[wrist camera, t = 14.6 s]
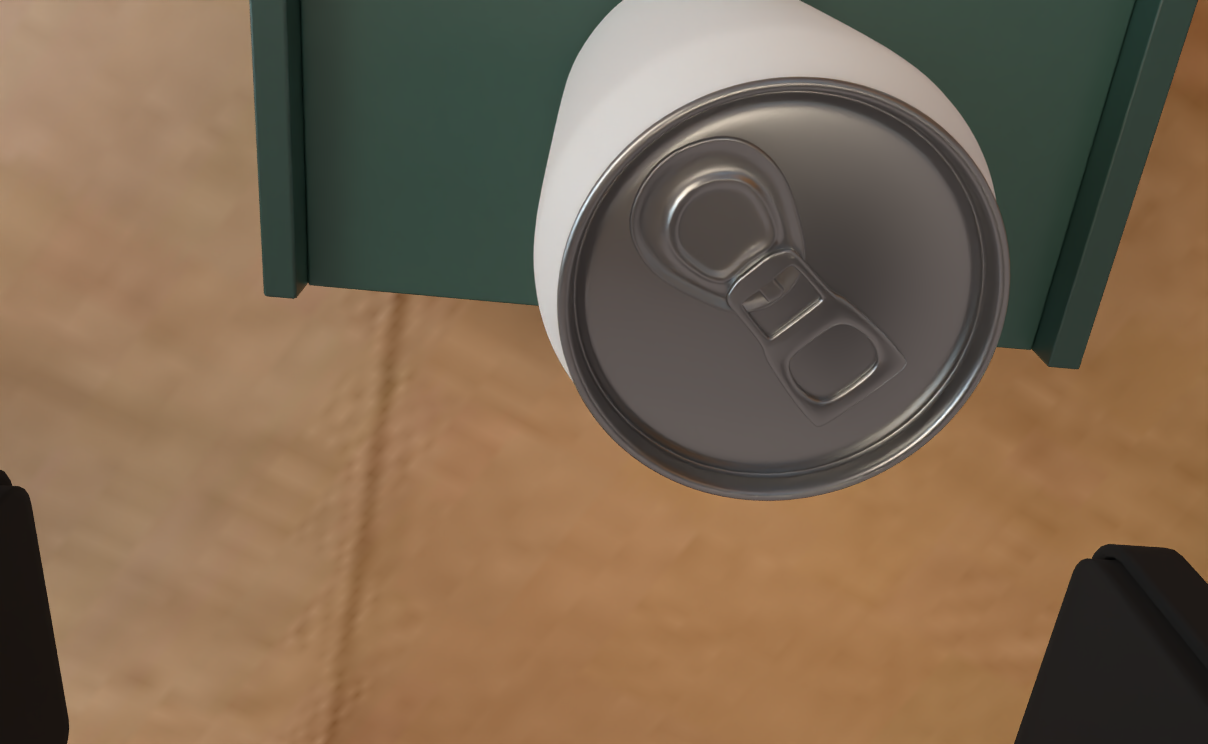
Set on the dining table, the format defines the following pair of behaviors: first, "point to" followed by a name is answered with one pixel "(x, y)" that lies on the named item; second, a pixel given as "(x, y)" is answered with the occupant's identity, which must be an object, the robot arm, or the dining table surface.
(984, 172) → the can
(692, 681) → the dining table surface
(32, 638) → the robot arm
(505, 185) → the step rack
